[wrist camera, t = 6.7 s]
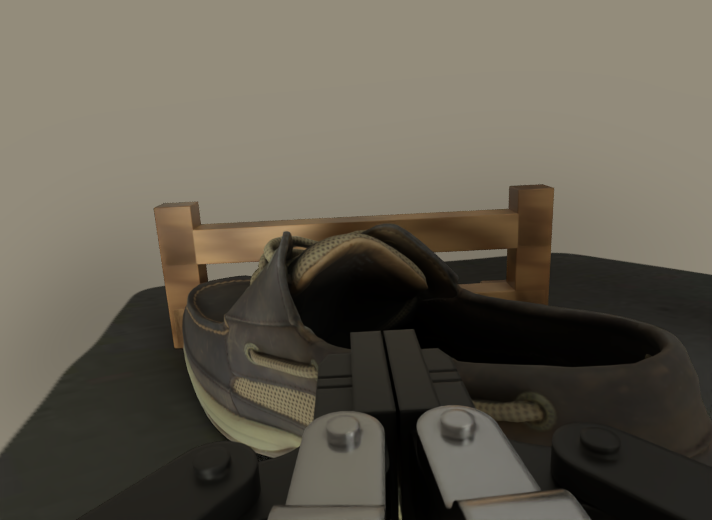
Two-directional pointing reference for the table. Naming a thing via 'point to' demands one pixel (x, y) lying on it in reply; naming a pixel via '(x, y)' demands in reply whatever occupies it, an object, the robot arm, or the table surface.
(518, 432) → the boat shoe
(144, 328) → the table surface
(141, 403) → the table surface
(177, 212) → the wooden display stand
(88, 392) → the table surface
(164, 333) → the table surface
